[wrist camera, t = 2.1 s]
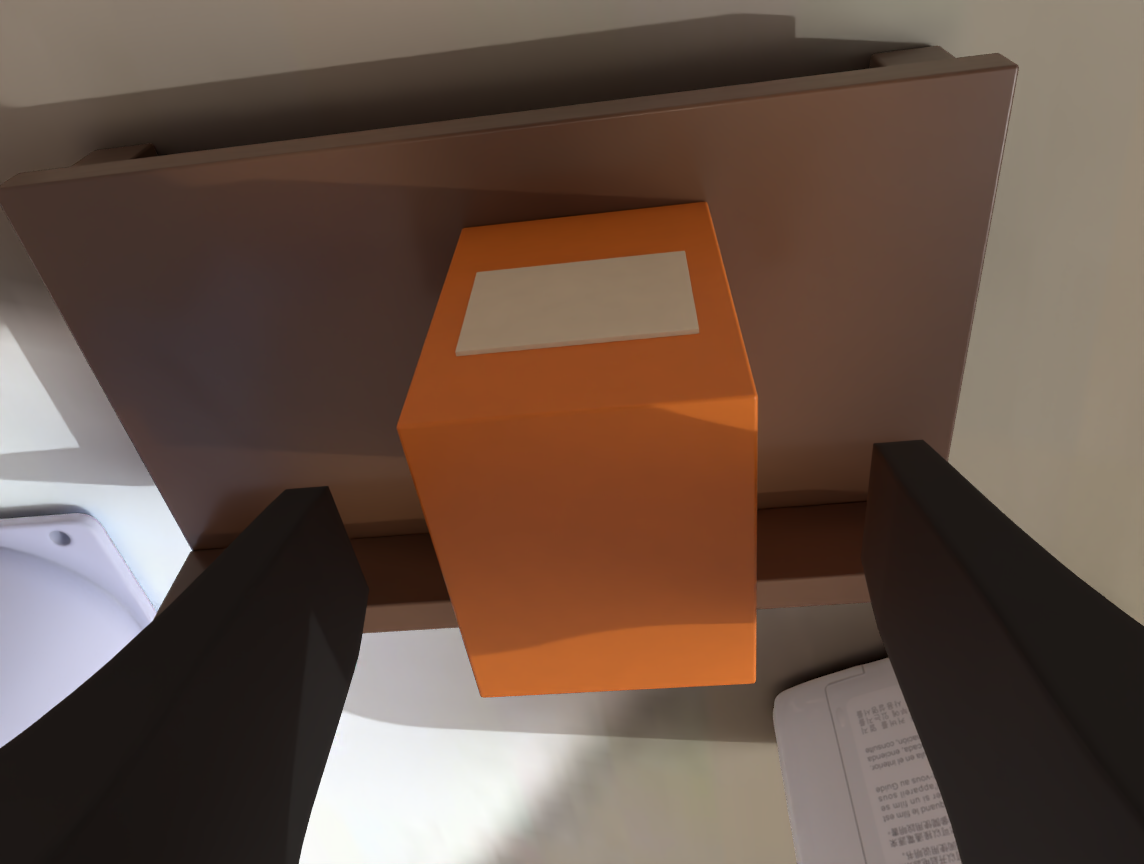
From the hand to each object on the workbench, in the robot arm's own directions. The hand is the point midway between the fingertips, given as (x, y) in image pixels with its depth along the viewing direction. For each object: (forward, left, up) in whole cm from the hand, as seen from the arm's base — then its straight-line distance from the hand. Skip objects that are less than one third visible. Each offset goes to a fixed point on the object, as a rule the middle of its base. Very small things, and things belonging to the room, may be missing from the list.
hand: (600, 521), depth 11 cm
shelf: (-2, -1, -7) cm, 8 cm away
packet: (0, 0, -5) cm, 5 cm away
